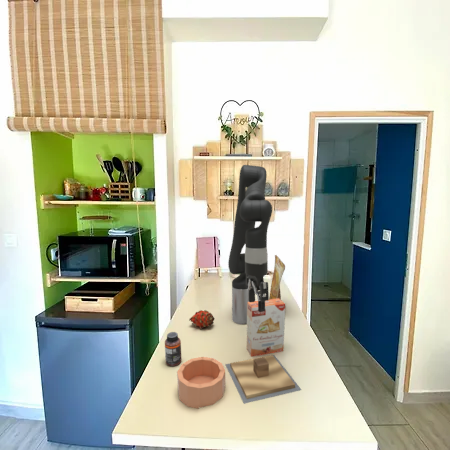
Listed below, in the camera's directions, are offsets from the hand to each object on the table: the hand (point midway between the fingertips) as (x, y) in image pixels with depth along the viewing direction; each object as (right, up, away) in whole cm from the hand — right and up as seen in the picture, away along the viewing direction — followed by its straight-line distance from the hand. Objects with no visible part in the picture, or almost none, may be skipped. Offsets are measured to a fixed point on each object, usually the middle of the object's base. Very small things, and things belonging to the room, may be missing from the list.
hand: (256, 306), depth 100 cm
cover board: (+2, -25, +2) cm, 25 cm away
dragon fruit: (-22, -20, +37) cm, 48 cm away
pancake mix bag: (+16, -17, +54) cm, 59 cm away
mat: (+2, -25, +2) cm, 26 cm away
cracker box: (+5, -23, +18) cm, 30 cm away
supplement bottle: (-30, -24, +11) cm, 40 cm away
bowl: (-18, -27, -4) cm, 32 cm away
